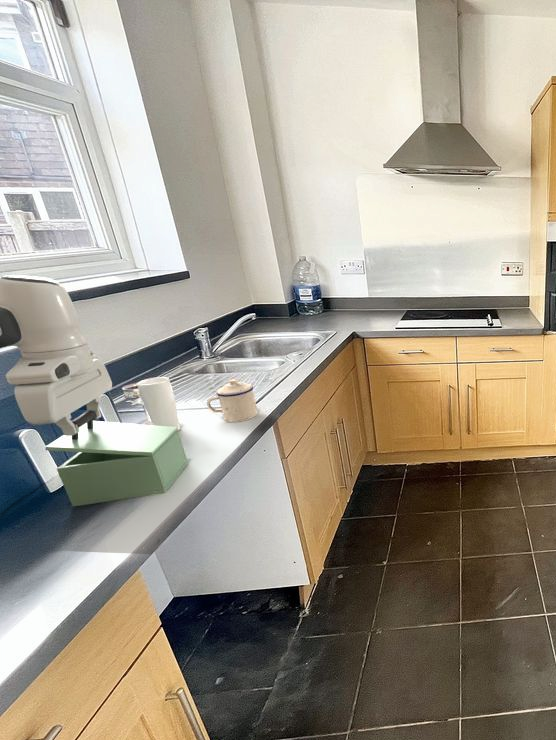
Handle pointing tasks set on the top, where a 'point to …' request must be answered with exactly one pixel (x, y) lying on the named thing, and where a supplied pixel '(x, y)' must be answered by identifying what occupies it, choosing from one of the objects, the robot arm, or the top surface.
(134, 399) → the wineglass
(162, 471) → the storage box
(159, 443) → the box lid
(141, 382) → the white vase
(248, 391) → the teacup with lid
